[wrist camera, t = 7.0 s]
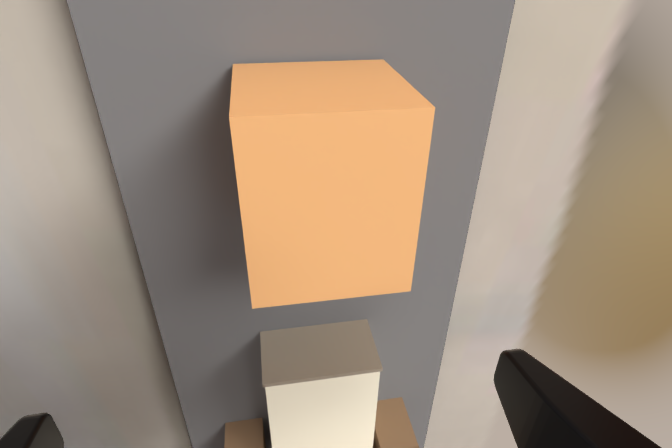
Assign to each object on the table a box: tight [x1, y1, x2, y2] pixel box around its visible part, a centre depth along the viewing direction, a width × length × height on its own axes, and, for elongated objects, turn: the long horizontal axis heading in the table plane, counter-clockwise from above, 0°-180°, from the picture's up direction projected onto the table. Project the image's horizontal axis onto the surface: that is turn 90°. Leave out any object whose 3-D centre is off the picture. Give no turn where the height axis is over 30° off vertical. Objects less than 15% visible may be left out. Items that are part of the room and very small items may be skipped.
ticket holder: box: [67, 0, 515, 448], centre depth 20 cm, size 30×14×6 cm, turn 179°
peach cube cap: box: [229, 59, 435, 309], centre depth 15 cm, size 6×5×5 cm
